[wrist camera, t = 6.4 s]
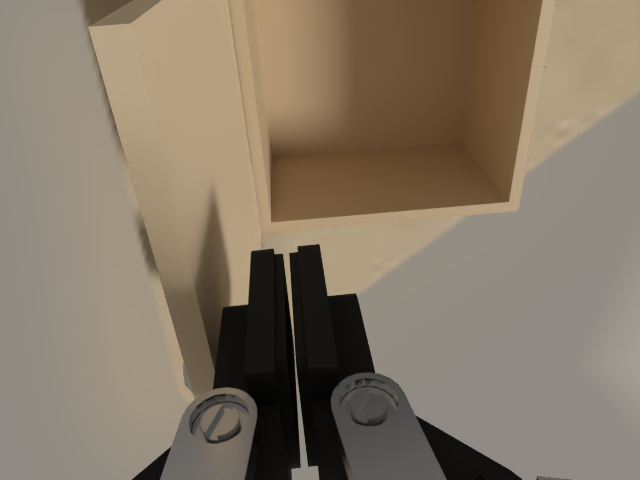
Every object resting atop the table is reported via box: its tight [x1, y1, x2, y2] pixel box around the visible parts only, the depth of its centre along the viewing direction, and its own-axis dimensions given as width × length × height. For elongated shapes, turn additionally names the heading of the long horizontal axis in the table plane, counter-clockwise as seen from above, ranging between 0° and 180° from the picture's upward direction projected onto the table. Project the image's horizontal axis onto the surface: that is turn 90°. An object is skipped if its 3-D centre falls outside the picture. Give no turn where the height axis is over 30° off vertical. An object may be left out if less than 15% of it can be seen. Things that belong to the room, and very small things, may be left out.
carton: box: [228, 0, 556, 233], centre depth 28 cm, size 14×13×9 cm
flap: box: [88, 0, 261, 399], centre depth 17 cm, size 15×13×1 cm
